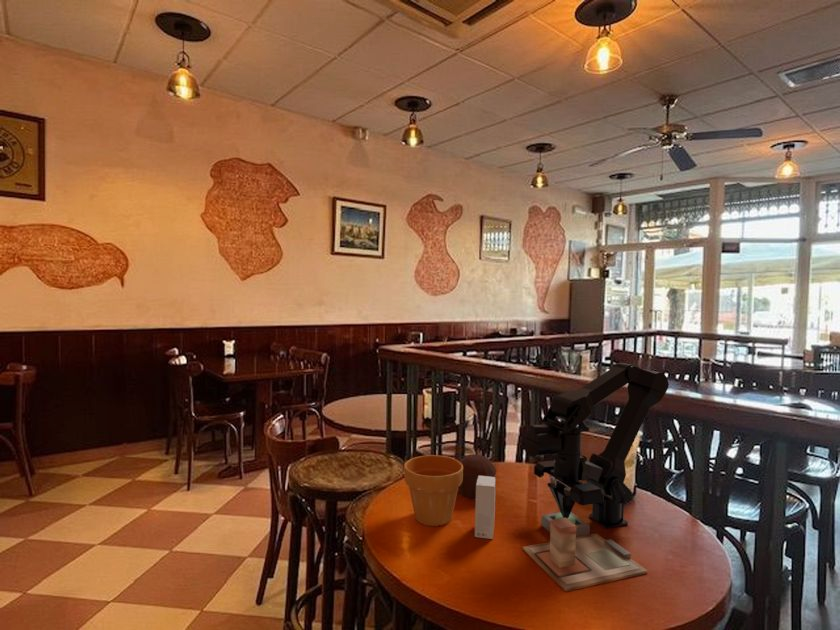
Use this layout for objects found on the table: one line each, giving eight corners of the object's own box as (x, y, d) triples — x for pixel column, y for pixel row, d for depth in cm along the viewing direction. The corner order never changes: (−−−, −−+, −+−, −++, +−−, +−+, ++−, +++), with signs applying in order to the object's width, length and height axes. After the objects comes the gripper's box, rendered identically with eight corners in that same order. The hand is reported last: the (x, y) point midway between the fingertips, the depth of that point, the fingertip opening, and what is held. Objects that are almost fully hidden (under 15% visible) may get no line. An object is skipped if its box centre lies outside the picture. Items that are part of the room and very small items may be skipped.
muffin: (498, 502, 124) (499, 465, 123) (456, 502, 124) (456, 464, 124) (492, 484, 136) (493, 449, 135) (453, 483, 136) (454, 449, 135)
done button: (567, 523, 113) (567, 511, 112) (579, 532, 108) (579, 520, 108) (551, 525, 111) (551, 514, 111) (562, 535, 107) (563, 523, 107)
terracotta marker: (564, 555, 98) (565, 517, 98) (575, 564, 95) (576, 525, 94) (549, 558, 97) (550, 520, 97) (559, 568, 94) (560, 528, 93)
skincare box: (493, 539, 105) (494, 487, 105) (474, 537, 106) (475, 485, 106) (494, 526, 111) (496, 476, 111) (476, 524, 112) (477, 474, 112)
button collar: (568, 520, 115) (569, 510, 114) (589, 536, 107) (589, 525, 107) (541, 525, 112) (541, 515, 112) (560, 541, 105) (561, 530, 105)
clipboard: (596, 535, 108) (596, 529, 108) (647, 573, 94) (647, 565, 93) (522, 549, 102) (522, 542, 102) (565, 591, 87) (565, 583, 87)
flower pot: (394, 525, 111) (395, 471, 110) (415, 500, 124) (416, 451, 124) (452, 537, 106) (453, 480, 106) (468, 510, 120) (469, 459, 119)
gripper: (625, 461, 103) (623, 531, 103) (571, 435, 120) (570, 496, 121) (582, 467, 99) (580, 539, 100) (533, 439, 117) (532, 502, 117)
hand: (565, 517), depth 110 cm, fingers closed, pressing on done button
